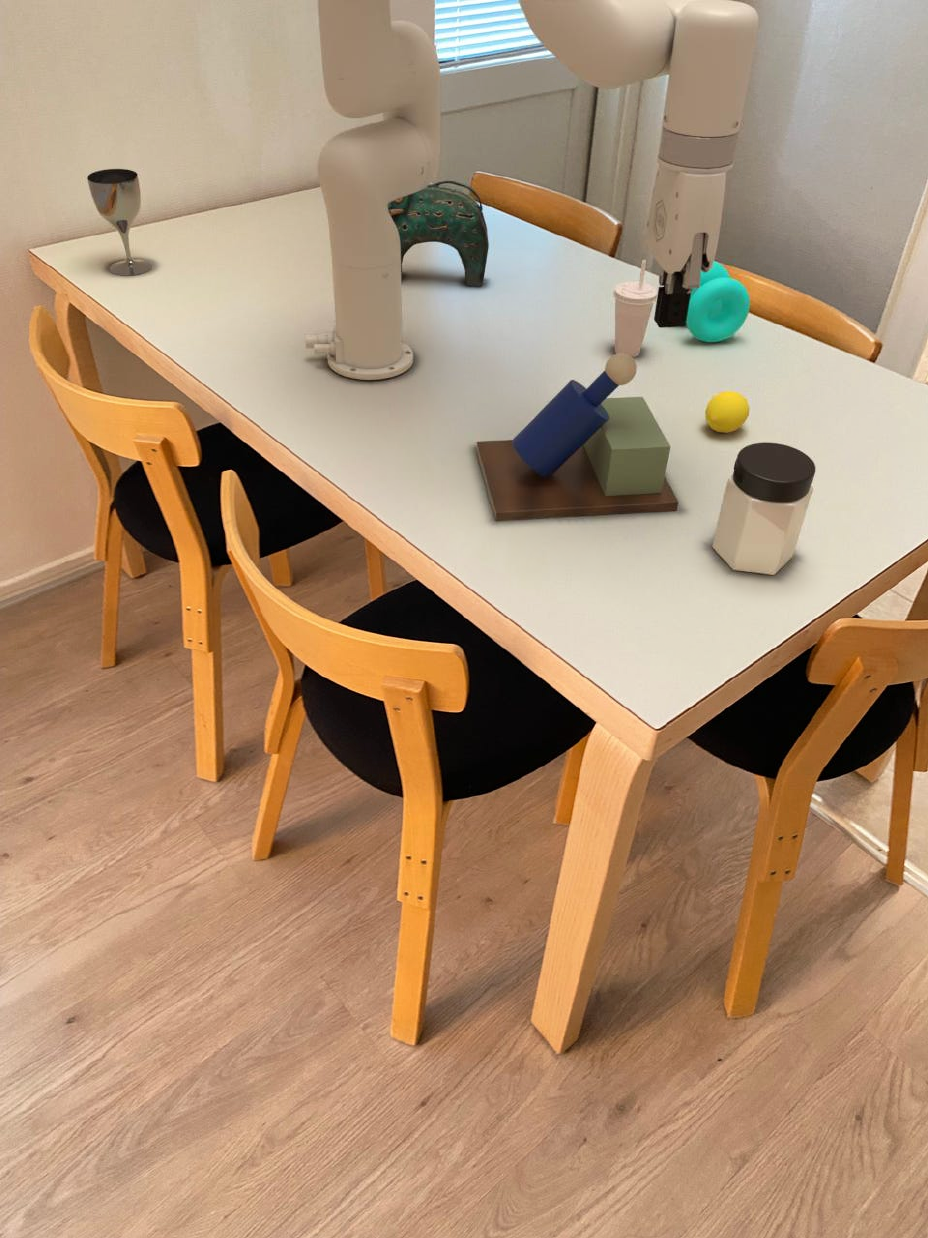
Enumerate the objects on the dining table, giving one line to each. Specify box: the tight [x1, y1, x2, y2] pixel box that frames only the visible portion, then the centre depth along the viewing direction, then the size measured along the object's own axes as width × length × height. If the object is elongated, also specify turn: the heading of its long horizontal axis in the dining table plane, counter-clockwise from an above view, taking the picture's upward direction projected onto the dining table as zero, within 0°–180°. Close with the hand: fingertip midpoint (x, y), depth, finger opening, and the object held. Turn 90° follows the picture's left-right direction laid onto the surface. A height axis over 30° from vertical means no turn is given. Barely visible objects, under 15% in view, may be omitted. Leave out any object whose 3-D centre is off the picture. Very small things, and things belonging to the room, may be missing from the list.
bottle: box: [512, 353, 638, 478], centre depth 115 cm, size 14×6×15 cm, turn 98°
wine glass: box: [86, 168, 153, 277], centre depth 163 cm, size 8×8×15 cm
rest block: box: [583, 396, 671, 496], centre depth 119 cm, size 7×12×6 cm, turn 8°
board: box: [475, 439, 679, 522], centre depth 120 cm, size 22×16×1 cm
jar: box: [711, 441, 816, 576], centre depth 106 cm, size 9×8×12 cm
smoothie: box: [612, 259, 658, 358], centre depth 143 cm, size 6×6×14 cm
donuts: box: [686, 260, 751, 343], centre depth 151 cm, size 10×10×10 cm
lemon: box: [704, 390, 750, 434], centre depth 129 cm, size 7×5×5 cm
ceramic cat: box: [388, 180, 490, 288], centre depth 161 cm, size 20×6×20 cm, turn 83°
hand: (669, 323), depth 109 cm, fingers closed
